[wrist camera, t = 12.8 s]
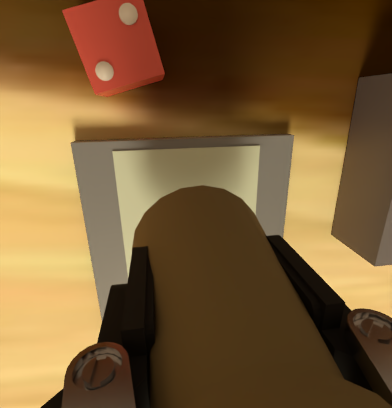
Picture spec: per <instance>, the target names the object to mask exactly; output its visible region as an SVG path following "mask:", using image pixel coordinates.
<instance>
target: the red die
mask: <svg viewBox="0 0 392 408" xmlns="http://www.w3.org/2000/svg"><path fill="white" fill-rule="evenodd" d="M62 12H63V14H64V17H65V19H66V22H67V24H68V27H69V29H70V32H71V34H72V37H73V40H74V42H75V45H76V47H77V50H78V52H79V55H80V57H81V60H82V62H83V65H84V67H85V70H86V72H87V75H88V78H89V80H90V83H91V85H92V88H93V90H94V93H95V95H100V96H106V97H108V96H112V95H115V94H118V93H121V92H125V91H128V90H131V89H135V88H138V87H141V86H145V85H148V84H151V83H154V82H158V81H161V80H163V78H164V75H165V72H164V69H163V65H162V62H161V59H160V55H159V52H158V48H157V45H156V42H155V38H154V35H153V32H152V28H151V25H150V21H149V18H148V15H147V11H146V8H145V4H144V1H143V0H96V1H92V2H89V3H86V4H82V5H79V6H75V7H72V8H68V9H65V10H62Z"/></svg>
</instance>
